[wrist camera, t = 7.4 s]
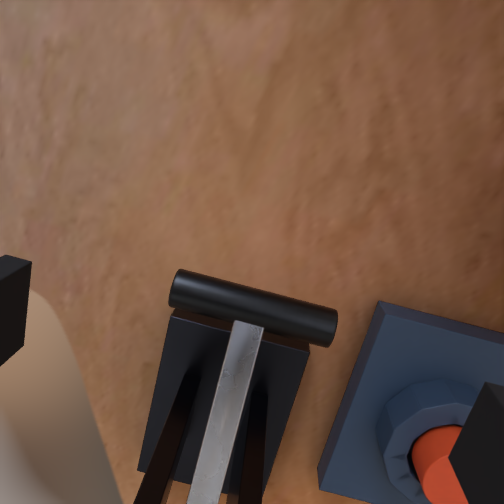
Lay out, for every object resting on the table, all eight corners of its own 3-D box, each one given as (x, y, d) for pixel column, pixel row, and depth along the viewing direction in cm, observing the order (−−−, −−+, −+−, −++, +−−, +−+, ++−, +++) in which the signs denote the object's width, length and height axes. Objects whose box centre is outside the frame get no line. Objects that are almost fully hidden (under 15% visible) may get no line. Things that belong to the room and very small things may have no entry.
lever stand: (176, 305, 26) (65, 497, 13) (309, 340, 26) (331, 566, 13) (143, 455, 30) (28, 728, 16) (261, 486, 30) (242, 783, 16)
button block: (378, 300, 25) (394, 333, 21) (550, 345, 25) (597, 386, 22) (317, 467, 29) (321, 521, 25) (468, 507, 29) (495, 566, 25)
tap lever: (183, 267, 18) (173, 269, 15) (331, 305, 18) (344, 314, 15) (97, 592, 18) (74, 645, 15) (246, 630, 18) (245, 689, 15)
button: (425, 416, 23) (438, 444, 21) (493, 434, 23) (512, 463, 21) (401, 471, 24) (411, 502, 22) (466, 488, 24) (482, 521, 22)
